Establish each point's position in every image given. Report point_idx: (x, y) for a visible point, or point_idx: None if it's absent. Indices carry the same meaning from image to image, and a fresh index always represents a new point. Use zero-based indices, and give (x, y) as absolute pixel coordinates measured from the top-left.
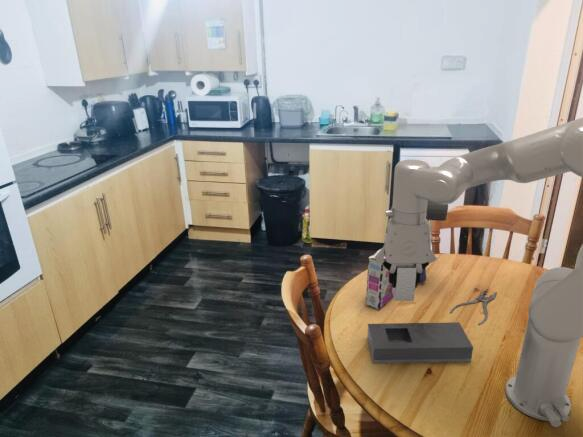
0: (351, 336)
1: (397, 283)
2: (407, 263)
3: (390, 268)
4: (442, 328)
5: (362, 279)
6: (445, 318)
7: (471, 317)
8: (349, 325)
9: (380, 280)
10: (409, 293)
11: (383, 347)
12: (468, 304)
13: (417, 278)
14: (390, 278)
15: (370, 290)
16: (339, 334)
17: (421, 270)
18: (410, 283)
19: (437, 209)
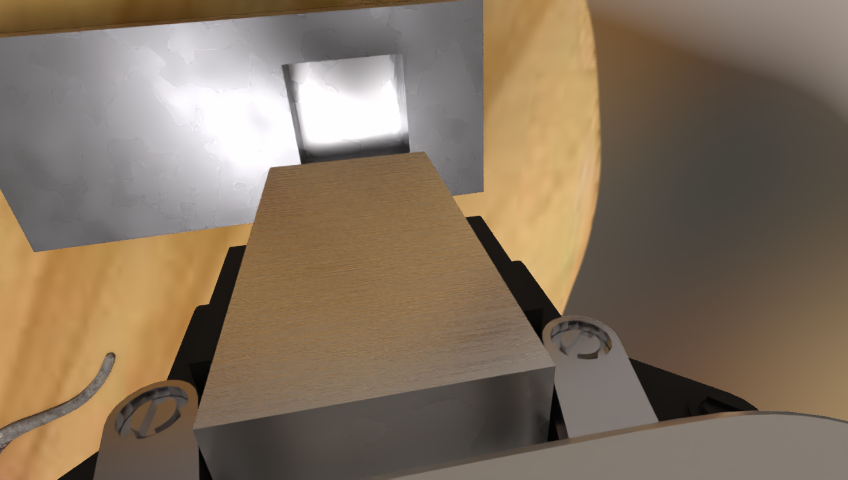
0: (523, 167)
1: (458, 226)
2: (416, 474)
3: (630, 366)
4: (122, 195)
5: None
6: (133, 320)
7: (16, 342)
8: (521, 230)
9: None
10: (310, 190)
11: (434, 13)
12: (36, 414)
13: (210, 311)
14: (534, 285)
15: None
16: (566, 174)
17: (125, 424)
18: (304, 246)
19: None
